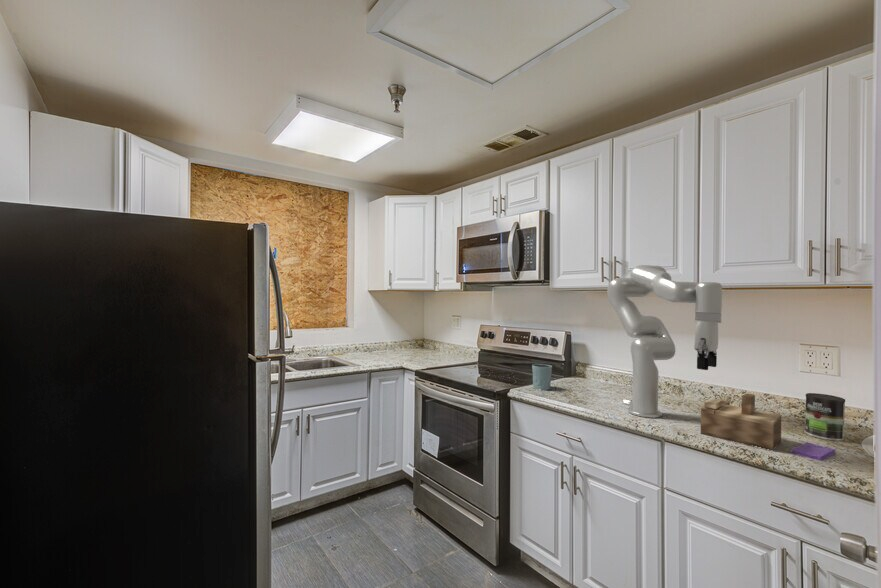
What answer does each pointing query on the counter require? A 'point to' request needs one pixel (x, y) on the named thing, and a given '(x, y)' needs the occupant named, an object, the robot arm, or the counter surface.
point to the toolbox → (739, 429)
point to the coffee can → (825, 416)
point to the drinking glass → (541, 376)
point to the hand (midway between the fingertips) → (706, 367)
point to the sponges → (813, 451)
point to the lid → (748, 412)
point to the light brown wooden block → (713, 403)
